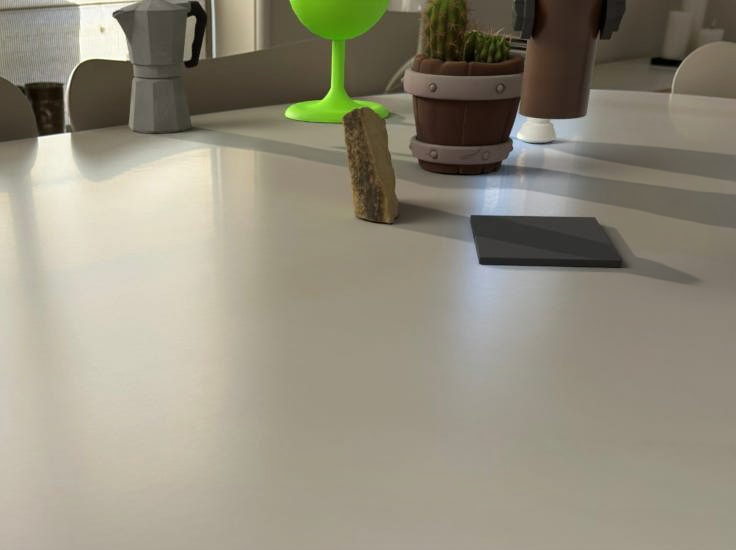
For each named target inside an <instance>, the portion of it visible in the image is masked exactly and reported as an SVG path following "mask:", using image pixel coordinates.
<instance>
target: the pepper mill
mask: <svg viewBox="0 0 736 550" xmlns="http://www.w3.org/2000/svg"><path fill="white" fill-rule="evenodd" d="M603 4H604V0H535V17H534V24H533V29H532V33H531V37H530V39H526V40H527V43H526V49H525V57H524V73H523V82H522V90H521V98H520V103H519V108H518V114H519V115H520V116H523V117H526V118H527V117H531V118H539V119H550V120H573V119H580V118H584V117H587V114H588V109H589V108H588V107H589V101H590V94H591V87H592V82H593V75H594V68H595V61H596V56H597V50H598V49H597V48H598V41H599V37H600V23H601V17H602V10H603Z"/></svg>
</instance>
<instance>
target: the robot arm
mask: <svg viewBox="0 0 736 550" xmlns="http://www.w3.org/2000/svg"><path fill="white" fill-rule="evenodd" d="M626 7H627V0H604V4H603V10H602V17H601V23H600V30H599V40H600V41H610V40H611V39H612V35H613V33H617V32H619V30H620V28H621V26H622V22H623V20H624V17H625V14H626V11H627V9H626ZM534 17H535V0H512V1H511V20H510V21H511V22H510V25H511V29H512V31H513V32H519V40H528V39H530V37H531V33H532V29H533V24H534Z"/></svg>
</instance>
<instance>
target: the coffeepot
mask: <svg viewBox="0 0 736 550" xmlns="http://www.w3.org/2000/svg"><path fill="white" fill-rule="evenodd" d="M111 16H112V18H113V19H115V20H116V22H117V23H118V24H119V26H120V28H121V30H122V32H123V33H124V35H125V41H126V46H127V51H128V57H129V61H130V63H131V64H132V68H133V76H134V77H133V79H131V80H132V81H131V92H130V103H129V104H130V107H129V118H128V127H129V129H130V130H131V131H132V132H136V133H142V134H173V133H181V132H185V131H188V130H190V129H191V128H192V127H193V125H192V119H191V115H190V108H189V103H188V98H187V94H186V87H185V83H184V79H183V77H182V76H181V75H182V69H181V63H183V65H184V67H185V68H186V69H193V68H196V67H197V66H198V64H199V62H200V61H199V60H200V56H201V51H202V47H203V42H204V38H205V37H204V36H205V32H206V28H207V24H208V14H207V12H206V10H205V9H204V8H203V6H202V4H201V3H200V1H198V0H188V1H184V2H183V1H181V2H175V3H174V2H170V1H168V0H140V1H137V2H135V3H132V4H129V5H125V6H123V7H120V8H119V9H116V10H115V11H113V12H112V14H111ZM190 17H194V18H195V24H194V29H193V31H194V32H193V33H194V34H193V40H192V43H191V57H190V59H188V60H184V55H185V45H186V44H185V43H186V35H187V34H186V33H187V22H188V18H190Z"/></svg>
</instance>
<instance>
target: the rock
mask: <svg viewBox="0 0 736 550" xmlns="http://www.w3.org/2000/svg"><path fill="white" fill-rule="evenodd" d="M341 124H342V128H343V136H344V145H345V151H346V156H347V162H348V171H349V176H350V180H349V181H350V188H351V199H352V207H353V214H354V216H355V217H356V218H359V219H363V220H368V221H370V222H376V223H385V224H389V225H390V224H391V223H392V224H394V223H395V220H394V219H395V218H397V217H398V216H399V215H400V210H399V199H398V197H397V194H396V184H397V182H396V174H395V169H394V167H393V161H392V154H391V153H390V149H389V134H388V129H387V121H386V120H385V118H383V119H382V118H381V117H380V116H379V114H377V113H375V112H374V111H373V110H372V109H371V108H369V107H362V108H361V109H358V108H356V109H354V110H352V111H351V112H348V113H347V114H345V115H344V116H343V117H342V123H341ZM392 224H391V225H392Z"/></svg>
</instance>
